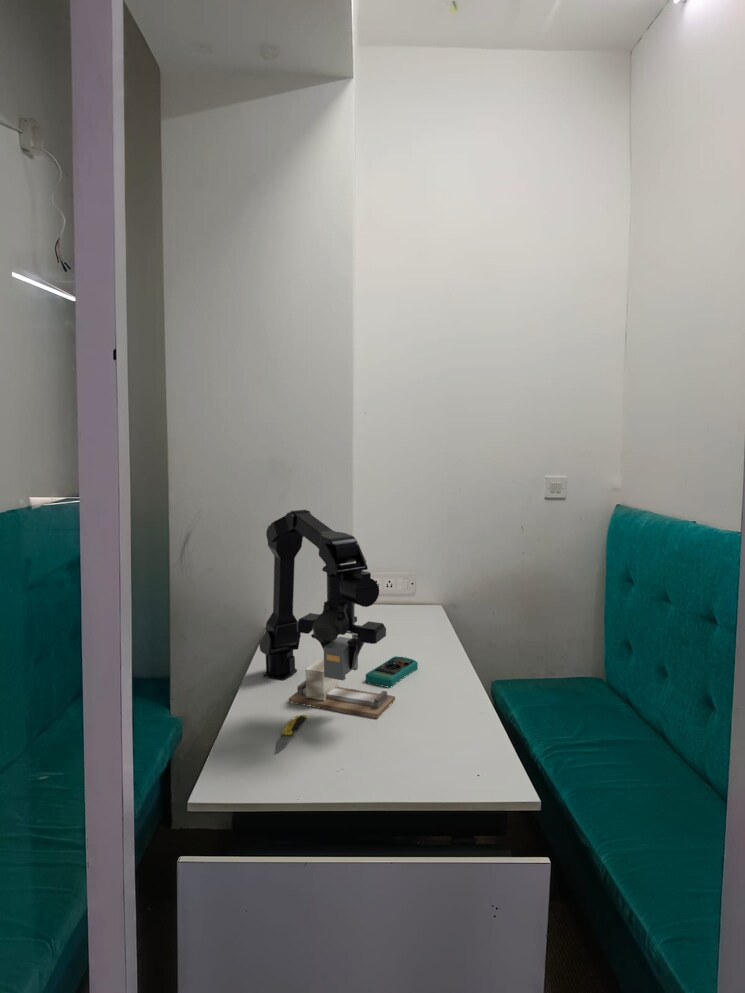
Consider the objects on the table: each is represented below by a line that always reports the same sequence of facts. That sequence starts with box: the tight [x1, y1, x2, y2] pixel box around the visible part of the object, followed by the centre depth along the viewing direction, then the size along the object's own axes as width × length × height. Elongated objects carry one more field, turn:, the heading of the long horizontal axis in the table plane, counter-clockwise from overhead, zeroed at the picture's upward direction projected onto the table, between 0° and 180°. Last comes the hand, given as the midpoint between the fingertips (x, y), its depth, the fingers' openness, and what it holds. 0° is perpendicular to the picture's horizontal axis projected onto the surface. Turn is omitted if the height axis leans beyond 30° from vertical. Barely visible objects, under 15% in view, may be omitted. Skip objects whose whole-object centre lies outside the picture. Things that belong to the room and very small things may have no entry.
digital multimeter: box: [365, 656, 419, 688], centre depth 163 cm, size 7×15×3 cm, turn 149°
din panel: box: [288, 658, 396, 720], centre depth 147 cm, size 22×10×8 cm, turn 66°
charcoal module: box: [323, 636, 359, 681], centre depth 139 cm, size 4×7×7 cm, turn 155°
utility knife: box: [274, 714, 308, 755], centre depth 132 cm, size 16×1×3 cm
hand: (341, 666), depth 139 cm, fingers closed on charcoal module, 4 cm apart
